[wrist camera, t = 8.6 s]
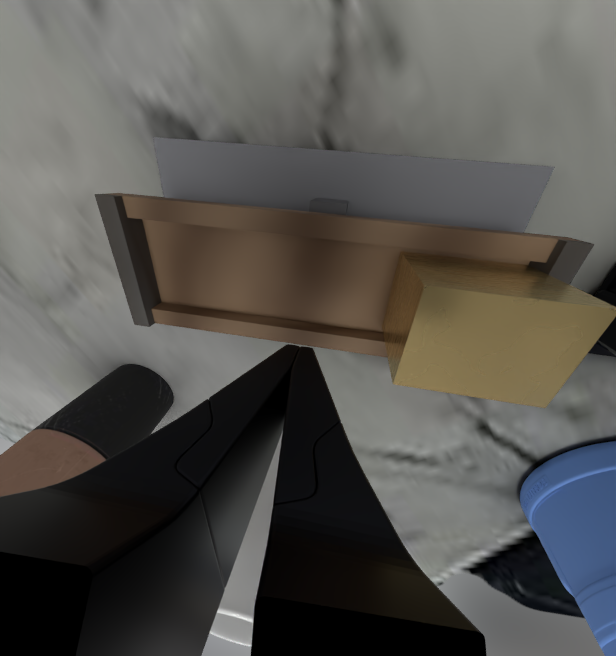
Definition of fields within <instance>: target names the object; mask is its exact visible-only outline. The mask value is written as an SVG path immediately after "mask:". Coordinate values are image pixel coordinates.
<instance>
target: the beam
mask: <svg viewBox="0 0 616 656" xmlns="http://www.w3.org/2000/svg"><path fill="white" fill-rule="evenodd" d="M95 197H96V201H97V204H98V207H99V210H100V214H101V217H102V220H103V223H104V227H105V230H106V233H107V236H108V240H109V243H110V246H111V249H112V253H113V256H114V259H115V262H116V266H117V269H118V272H119V276H120V279H121V282H122V285H123V289H124V292H125V295H126V298H127V302H128V305H129V308H130V311H131V315H132V318H133V321H134V324H135V325H141V326H148V327H150V326H151V325H153V324H154V323H159V324H165V325H172V326H179V327H186V328H192V329H199V330H206V331H213V332H219V333H226V334H233V335H240V336H246V337H253V338H260V339H267V340H274V341H280V342H287V343H294V344H301V345H307V346H314V347H321V348H328V349H334V350H341V351H348V352H355V353H361V354H368V355H375V356H382V357H388V356H387V351H386V346H385V341H384V336H383V331H382V323H383V320H384V316H385V312H386V308H387V304H388V300H389V296H390V292H391V288H392V284H393V280H394V276H395V272H396V268H397V264H398V260H399V256H400V252H401V251H405V252H414V253H423V254H432V255H441V256H450V257H459V258H469V259H478V260H487V261H496V262H505V263H514V264H523V265H529V266H531V267H533V268H535V269H537V270H540V271H542V272H544V273H546V274H548V275H550V276H552V277H554V278H556V279H558V280H560V281H563V282H565V283H567V284H570V283H571V281H572V280H573V278H574V276H575V275H576V273H577V271H578V270H579V268H580V267H581V265H582V263H583V262H584V260H585V259H586V257H587V255H588V254H589V252H590V250H591V249H592V247H593V246H594V244H591V243H587V242H583V241H580V240H576V239H572V238H568V237H559V236H550V235H540V234H530V233H520V232H510V231H500V230H489V229H479V228H469V227H459V226H449V225H439V224H428V223H418V222H408V221H398V220H388V219H378V218H368V217H357V216H347V215H337V214H327V213H317V212H307V211H296V210H286V209H276V208H266V207H256V206H246V205H235V204H225V203H215V202H205V201H195V200H185V199H174V198H164V197H154V196H144V195H134V194H122V193H113V194H95Z"/></svg>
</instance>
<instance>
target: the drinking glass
mask: <svg viewBox="0 0 616 656" xmlns="http://www.w3.org/2000/svg"><path fill="white" fill-rule="evenodd" d="M282 433H283V431H282ZM281 440H282V434H281V436H280V439H279V442H278V445H277V448H276V450H275V453H274V456H273V459H272V461H271V464H270V467H269V470H268V472H267V475H266V478H265V481H264V483H263V486H262V489H261V492H260V494H259V497H258V500H257V503H256V505H255V508H254V511H253V514H252V516H251V519H250V522H249V525H248V528H247V530H246V533H245V536H244V539H243V541H242V544H241V547H240V550H239V552H238V555H237V558H236V561H235V563H234V566H233V569H232V572H231V574H230V577H229V580H228V583H227V585H226V587H225V588H224V589H225V591H224V594H223V597H222V600H221V602H220V605H219V608H218V611H217V613H216V616H215V619H214V622H213V624H212V627H211V630H210V633H211V634H213V635H215V636H218V637H220V638H223V639H225V640H228V641H231V642H234V643H238V644H242V645H245V646H250V647H251V646H252V632H253V619H254V605H255V600H256V595H257V590H258V586H259V581H260V576H261V571H262V566H263V561H264V556H265V551H266V546H267V540H268V534H269V528H270V522H271V515H272V509H273V500H274V492H275V485H276V477H277V470H278V463H279V455H280V448H281Z"/></svg>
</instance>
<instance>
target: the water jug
mask: <svg viewBox="0 0 616 656" xmlns="http://www.w3.org/2000/svg"><path fill="white" fill-rule="evenodd" d="M520 503H521V507H522V509H523V511H524V513H525V515H526V517H527V519H528V521H529V523H530V525H531V527H532V529H533V530H534V531H535V532H536V533H537V535H538V537H539V539H540V541H541V543H542V545H543V547H544V549H545V551H546V553H547V555H548V557H549V559H550V561H551V563H552V565H553V567H554V569H555V571H556V572H557V574H558V576H559V578H560V580H561V582H562V584H563V585H564V587H565V588H566V589H567V591H568V592H569V593H570V594H571V595H573V596H574V598H575V600H576V602H577V604H578V606H579V607H580V609H581V611H582V613H583V615H584V617H585V619H586V621H587V623H588V625H589V627H590V628H591V630H592V632H593V634H594V636H595V638H596V640H597V642H598V644H599V646H600V647H601V649H602V651H603V653H604V655H605V656H616V441H612V442H605V443H599V444H594V445H589V446H585V447H581V448H578V449H574V450H571V451H568V452H566V453H563V454H561V455H558V456H556V457H554V458H552V459H550V460H548V461H547V462H545V463H543V464H542V465H540V466H539V467H538V468H536V469H535V470H534V471H533V472H532V473H531V474H530V475H529V476H528V477H527V479H526V480H525V482H524V483H523V485H522V488H521V491H520Z"/></svg>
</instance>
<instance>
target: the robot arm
mask: <svg viewBox="0 0 616 656" xmlns="http://www.w3.org/2000/svg"><path fill="white" fill-rule="evenodd" d="M594 297H596V298H598V299H600V300H602V301H604V302H606V303H608V304H611V305H613V306H615V307H616V266H615V267H614V269H613V270H612V271H611V273H610V274H609V276H608V277H607V279H606V280H605V282H604V283H603V285H602V286H601V287H600V289H599V290H598V292H597V293H596V295H595V296H594ZM588 353H592V354H599V355H607V356H614V357H616V317H615V318H614V320H613V321H612V322H611V323H610V325H609V326H608V327H607V329H606V330H605V331H604V333H603V334H602V335H601V336H600V338H599V339H598V340H597V342H596V343H595V344H594V346H593V347H592V348H591V350H590V351H589V352H588ZM282 431H283V433H282ZM281 434H282V440H281V448H280V455H279V463H278V470H277V477H276V485H275V492H274V500H273V509H272V515H271V522H270V528H269V534H268V540H267V546H266V551H265V556H264V561H263V566H262V571H261V576H260V581H259V586H258V590H257V595H256V600H255V605H254V619H253V632H252V646H251V656H486V645H485V638H484V635H483V634H482V633H481V632H480V631H479V630H478V629H477V628H476V627H475V626H474V625H473V624H472V623H471V622H470V621H469V620H468V619H467V618H466V617H465V615H464V614H462V612H461V611H460V610H459V609H457V607H456V606H455V605H454V604H453V603H452V602H451V601H450V600H449V599H448V598H447V597H446V596H445V595H444V594H443V593H442V592H441V591H440V590H439V588H437V586H436V585H435V584H434V583H433V582H432V581H431V580H430V579H429V578H428V577H427V576H426V575H425V574H424V572H423V571H422V570H421V569H420V567H419V566H418V565H417V564H416V562H415V561H414V560H413V558H412V557H411V555H410V554H409V553H408V551H407V549H406V548H405V546H404V545H403V543H402V541H401V540H400V538H399V536H398V534H397V533H396V531H395V529H394V527H393V525H392V524H391V522H390V520H389V518H388V516H387V514H386V513H385V511H384V509H383V507H382V505H381V503H380V501H379V500H378V498H377V496H376V494H375V492H374V490H373V489H372V487H371V485H370V483H369V481H368V479H367V477H366V476H365V474H364V472H363V470H362V468H361V466H360V464H359V462H358V460H357V458H356V456H355V454H354V452H353V450H352V447H351V445H350V443H349V440H348V438H347V435H346V433H345V430H344V428H343V425H342V423H341V420H340V418H339V415H338V412H337V410H336V407H335V405H334V402H333V399H332V397H331V394H330V392H329V389H328V386H327V384H326V381H325V378H324V376H323V373H322V371H321V368H320V365H319V363H318V360H317V358H316V355H315V352H314V350H313V348H310V347H303V346H302V347H299V346H296V345H289V344H288V345H286V346H284V347H283V348H281V349H280V350H278V351H277V352H275V353H274V354H272V355H271V356H269V357H268V358H267V359H265V360H264V361H262V362H261V363H259V364H258V365H256V366H255V367H253V368H252V369H251V370H249V371H248V372H246V373H245V374H243V375H242V376H240V377H239V378H237V379H236V380H235V381H233V382H232V383H230V384H229V385H227V386H226V387H224V388H223V389H221V390H220V391H218V392H217V393H216V394H214V395H213V396H211V397H210V398H209V400H208V399H207V400H205V401H204V402H202V403H201V404H199V405H198V406H196V407H195V408H193V409H192V410H190V411H189V412H187V413H186V414H184V415H183V416H181V417H180V418H178V419H176V420H175V421H173V422H171V423H170V424H168V425H166V426H165V427H163V428H161V429H160V430H158V431H156V432H155V433H153V434H151V435H149V436H148V437H146V438H144V439H142V440H140V441H139V442H137V443H135V444H133V445H132V446H130V447H128V448H126V449H125V450H123V451H121V452H119V453H118V454H116V455H114V456H112V457H111V458H109V459H107V460H105V461H104V462H102V463H100V464H98V465H97V466H95V467H93V468H91V469H89V470H87V471H85V472H83V473H81V474H79V475H77V476H75V477H72V478H70V479H68V480H65V481H62V482H60V483H57V484H54V485H50V486H47V487H43V488H39V489H35V490H30V491H25V492H20V493H15V494H11V495H6V496H1V497H0V656H201V655H202V652H203V649H204V646H205V643H206V641H207V638H208V635H209V633H210V630H211V627H212V624H213V622H214V619H215V616H216V613H217V611H218V608H219V605H220V602H221V600H222V597H223V594H224V591H225V589H224V588H225V587H226V585H227V583H228V580H229V577H230V574H231V572H232V569H233V566H234V563H235V561H236V558H237V555H238V552H239V550H240V547H241V544H242V541H243V539H244V536H245V533H246V530H247V528H248V525H249V522H250V519H251V516H252V514H253V511H254V508H255V505H256V503H257V500H258V497H259V494H260V492H261V489H262V486H263V483H264V481H265V478H266V475H267V472H268V470H269V467H270V464H271V461H272V459H273V456H274V453H275V450H276V448H277V445H278V442H279V439H280V436H281Z"/></svg>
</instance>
